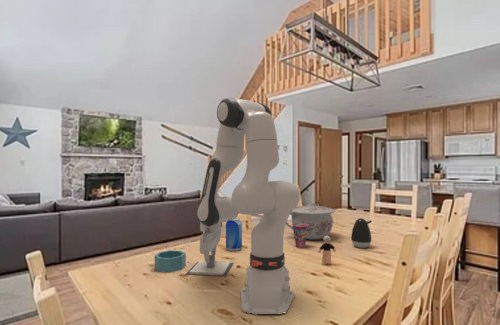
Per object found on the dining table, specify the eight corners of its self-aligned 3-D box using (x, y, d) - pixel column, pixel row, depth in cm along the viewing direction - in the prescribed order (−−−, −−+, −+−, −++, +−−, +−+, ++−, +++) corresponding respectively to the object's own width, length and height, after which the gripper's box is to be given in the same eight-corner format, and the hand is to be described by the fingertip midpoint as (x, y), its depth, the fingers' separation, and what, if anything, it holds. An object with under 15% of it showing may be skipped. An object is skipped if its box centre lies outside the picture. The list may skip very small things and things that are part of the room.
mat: (226, 277, 125) (226, 276, 125) (184, 276, 127) (184, 274, 127) (234, 264, 142) (234, 262, 142) (197, 262, 144) (197, 261, 144)
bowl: (178, 273, 130) (178, 259, 130) (150, 272, 132) (150, 258, 132) (188, 264, 142) (188, 250, 142) (162, 263, 144) (162, 250, 144)
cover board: (223, 275, 127) (223, 261, 127) (189, 273, 129) (189, 260, 129) (230, 263, 141) (230, 251, 141) (199, 262, 143) (199, 251, 143)
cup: (301, 249, 164) (301, 226, 164) (289, 246, 170) (289, 224, 170) (312, 246, 170) (312, 224, 170) (300, 243, 176) (300, 222, 176)
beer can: (222, 250, 164) (222, 219, 164) (231, 246, 171) (231, 217, 171) (236, 252, 160) (236, 220, 160) (244, 248, 168) (244, 218, 168)
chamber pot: (341, 235, 196) (340, 201, 196) (327, 245, 172) (327, 207, 172) (298, 230, 210) (298, 199, 210) (281, 239, 186) (280, 204, 186)
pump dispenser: (372, 250, 162) (372, 220, 162) (351, 248, 165) (350, 219, 165) (371, 245, 172) (371, 217, 172) (351, 243, 175) (351, 216, 175)
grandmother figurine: (321, 266, 138) (321, 237, 138) (317, 263, 142) (317, 235, 142) (337, 264, 140) (337, 236, 140) (333, 262, 144) (332, 234, 144)
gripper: (211, 232, 124) (211, 266, 125) (223, 221, 145) (223, 251, 145) (195, 231, 125) (195, 266, 126) (209, 220, 145) (209, 250, 146)
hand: (210, 258), depth 135 cm, fingers open, 8 cm apart
